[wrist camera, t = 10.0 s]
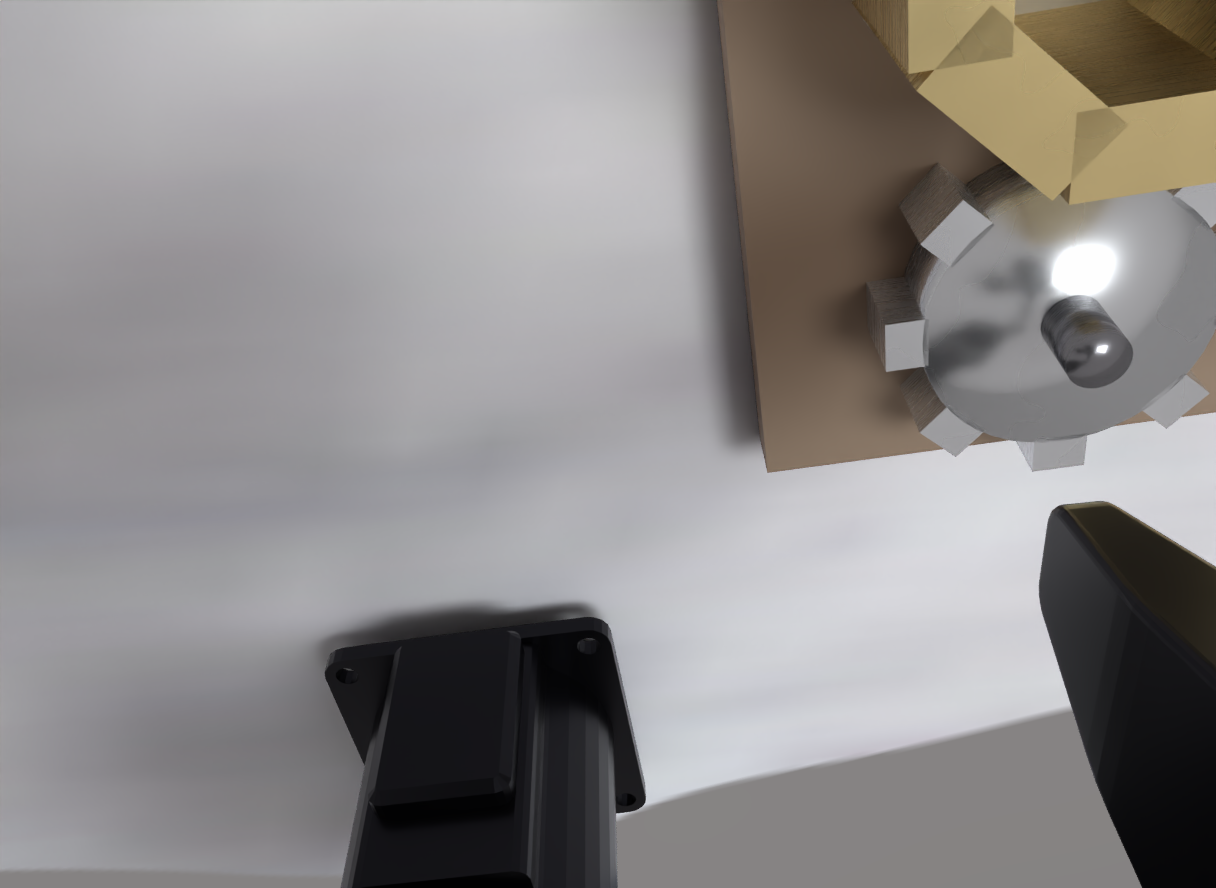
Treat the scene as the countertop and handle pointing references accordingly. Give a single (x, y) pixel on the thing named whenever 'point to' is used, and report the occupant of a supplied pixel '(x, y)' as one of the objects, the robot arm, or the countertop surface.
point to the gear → (1047, 311)
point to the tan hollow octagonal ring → (1069, 86)
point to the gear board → (835, 221)
